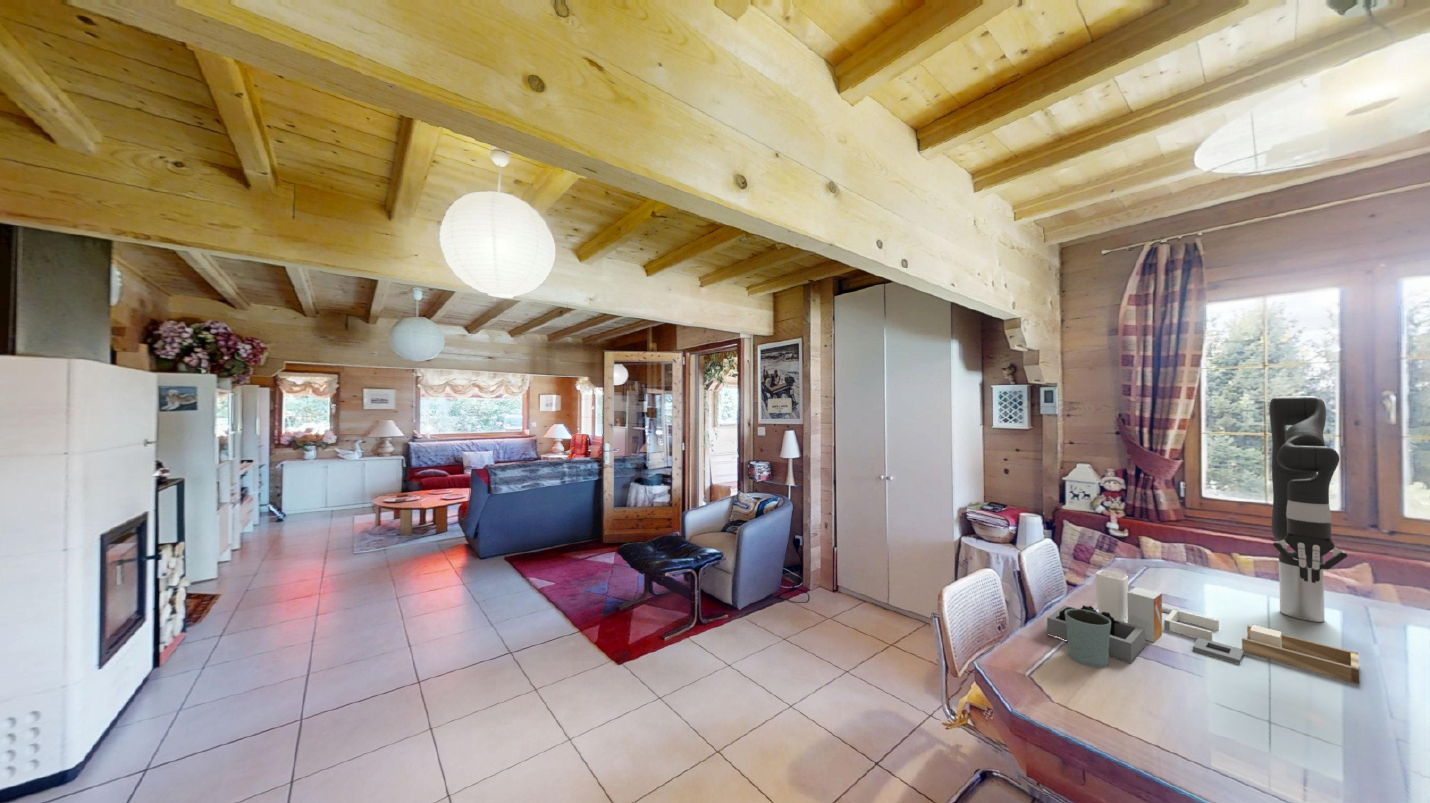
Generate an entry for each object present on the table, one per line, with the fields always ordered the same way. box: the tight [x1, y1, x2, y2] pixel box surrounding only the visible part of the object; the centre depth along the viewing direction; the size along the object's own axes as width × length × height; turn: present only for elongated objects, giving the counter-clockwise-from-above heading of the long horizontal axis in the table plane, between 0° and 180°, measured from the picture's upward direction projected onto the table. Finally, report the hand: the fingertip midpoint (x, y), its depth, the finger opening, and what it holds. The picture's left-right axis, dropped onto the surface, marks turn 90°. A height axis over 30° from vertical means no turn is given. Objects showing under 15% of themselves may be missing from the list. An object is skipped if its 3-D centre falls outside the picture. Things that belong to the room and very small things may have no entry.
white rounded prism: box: [1095, 569, 1129, 622], centre depth 153 cm, size 7×7×15 cm
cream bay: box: [1163, 608, 1220, 641], centre depth 145 cm, size 13×10×3 cm
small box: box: [1127, 586, 1163, 643], centre depth 142 cm, size 8×6×13 cm
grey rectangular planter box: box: [1046, 605, 1146, 664], centre depth 139 cm, size 15×20×6 cm
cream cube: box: [1250, 624, 1283, 648], centre depth 133 cm, size 6×6×6 cm
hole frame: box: [1192, 637, 1245, 665], centre depth 132 cm, size 9×9×1 cm
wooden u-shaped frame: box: [1241, 625, 1361, 685], centre depth 129 cm, size 13×20×4 cm
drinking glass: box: [1065, 608, 1111, 668], centre depth 129 cm, size 10×10×12 cm
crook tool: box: [1162, 606, 1174, 614], centre depth 154 cm, size 4×13×1 cm, turn 44°
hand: (1309, 581), depth 127 cm, fingers closed
